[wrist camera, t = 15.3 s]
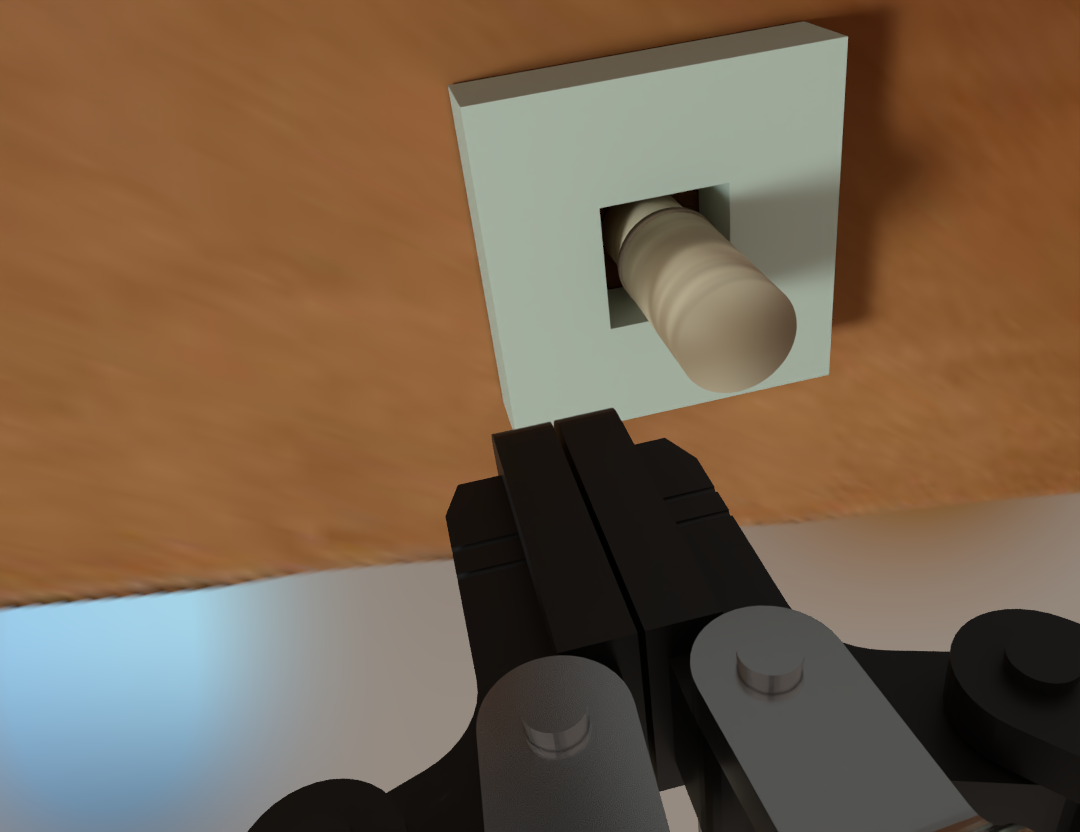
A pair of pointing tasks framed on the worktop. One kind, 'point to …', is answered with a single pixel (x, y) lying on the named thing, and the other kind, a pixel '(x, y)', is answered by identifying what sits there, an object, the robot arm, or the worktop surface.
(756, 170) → the board
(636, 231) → the peg
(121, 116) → the worktop surface
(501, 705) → the robot arm
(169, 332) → the worktop surface
